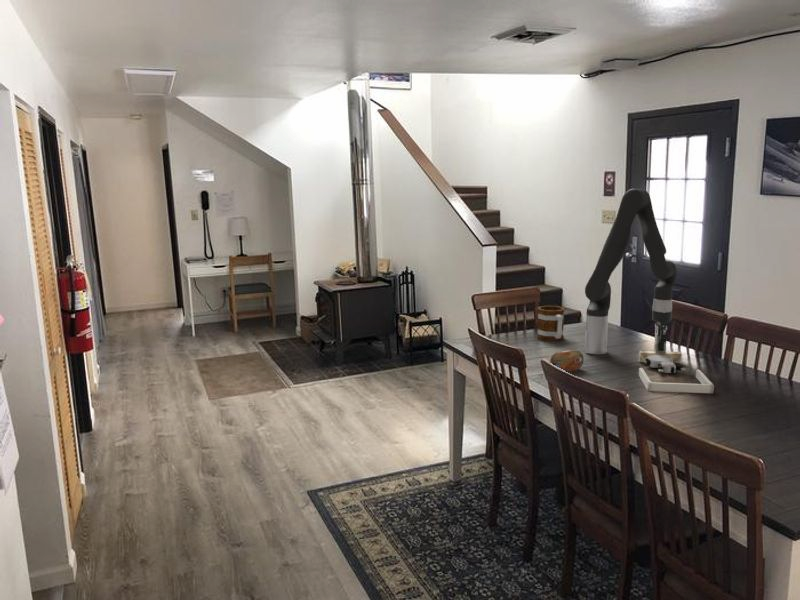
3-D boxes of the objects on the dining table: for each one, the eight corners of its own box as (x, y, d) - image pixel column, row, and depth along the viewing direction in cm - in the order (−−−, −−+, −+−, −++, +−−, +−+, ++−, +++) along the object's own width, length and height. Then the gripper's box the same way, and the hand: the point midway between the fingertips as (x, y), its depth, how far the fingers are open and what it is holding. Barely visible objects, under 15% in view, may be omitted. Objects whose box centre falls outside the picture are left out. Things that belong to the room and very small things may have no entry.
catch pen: (648, 390, 235) (648, 383, 235) (638, 375, 254) (639, 367, 253) (713, 393, 231) (713, 385, 230) (699, 377, 250) (699, 369, 249)
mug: (532, 335, 320) (533, 306, 317) (558, 334, 322) (559, 304, 319) (546, 345, 301) (546, 314, 298) (573, 343, 303) (574, 313, 300)
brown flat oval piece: (553, 374, 257) (553, 354, 256) (548, 372, 260) (549, 352, 259) (583, 369, 263) (584, 349, 261) (578, 367, 266) (579, 347, 264)
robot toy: (687, 376, 253) (667, 363, 268) (688, 365, 252) (668, 353, 267) (658, 378, 252) (639, 364, 266) (659, 367, 251) (640, 354, 265)
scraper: (640, 362, 269) (641, 334, 267) (638, 359, 272) (640, 332, 270) (680, 363, 266) (682, 335, 264) (678, 361, 269) (680, 333, 267)
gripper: (649, 305, 272) (647, 345, 275) (656, 312, 259) (654, 354, 262) (667, 306, 271) (665, 345, 274) (675, 313, 257) (673, 354, 261)
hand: (659, 349), depth 268 cm, fingers closed on scraper, 3 cm apart
